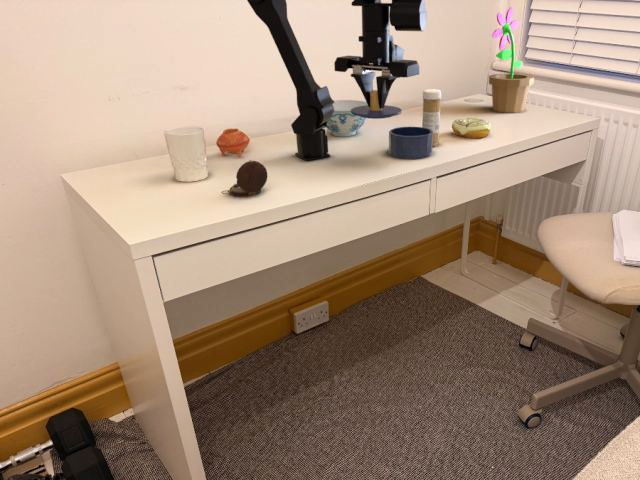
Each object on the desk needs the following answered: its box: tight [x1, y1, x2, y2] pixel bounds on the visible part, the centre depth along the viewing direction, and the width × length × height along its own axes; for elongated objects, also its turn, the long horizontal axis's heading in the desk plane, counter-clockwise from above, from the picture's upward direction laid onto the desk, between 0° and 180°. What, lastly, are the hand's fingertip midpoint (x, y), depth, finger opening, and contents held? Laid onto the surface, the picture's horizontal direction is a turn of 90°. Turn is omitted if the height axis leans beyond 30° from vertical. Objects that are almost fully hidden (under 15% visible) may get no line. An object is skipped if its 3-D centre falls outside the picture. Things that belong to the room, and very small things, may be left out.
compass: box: [221, 159, 268, 197], centre depth 108 cm, size 8×8×7 cm
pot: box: [215, 127, 251, 158], centre depth 134 cm, size 8×8×7 cm
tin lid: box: [351, 89, 403, 120], centre depth 123 cm, size 11×11×5 cm
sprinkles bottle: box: [421, 88, 442, 147], centre depth 139 cm, size 5×5×13 cm
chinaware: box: [325, 99, 368, 137], centre depth 152 cm, size 15×15×8 cm
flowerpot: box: [488, 6, 535, 114], centre depth 175 cm, size 14×14×30 cm
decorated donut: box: [451, 117, 492, 139], centre depth 151 cm, size 10×11×4 cm
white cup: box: [163, 125, 209, 183], centre depth 117 cm, size 8×8×10 cm
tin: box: [388, 126, 434, 160], centre depth 134 cm, size 10×10×5 cm
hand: (376, 107), depth 123 cm, fingers closed on tin lid, 3 cm apart
